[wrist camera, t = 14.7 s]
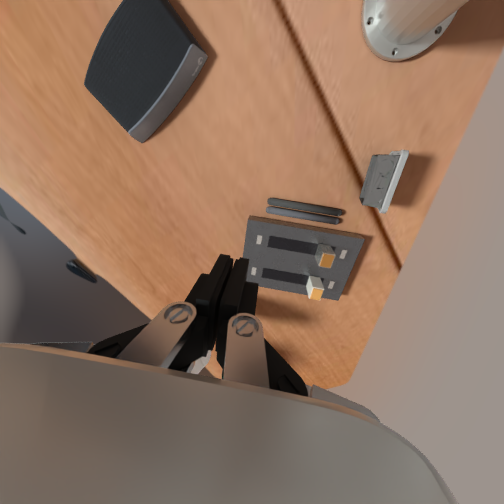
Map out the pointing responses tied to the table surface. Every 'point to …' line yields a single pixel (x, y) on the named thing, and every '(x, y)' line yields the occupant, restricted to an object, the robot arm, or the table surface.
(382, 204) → the electrical switch
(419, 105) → the table surface
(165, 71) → the external hard drive
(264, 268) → the slider control panel
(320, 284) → the lever
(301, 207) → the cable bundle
